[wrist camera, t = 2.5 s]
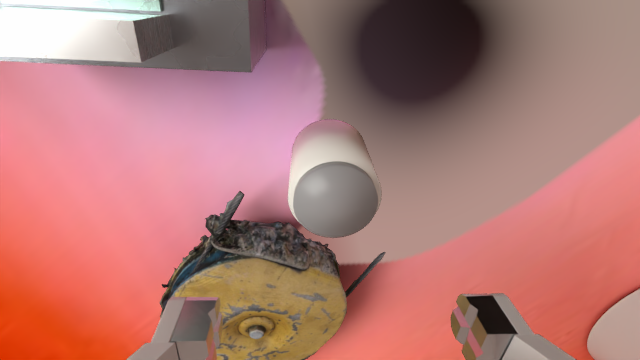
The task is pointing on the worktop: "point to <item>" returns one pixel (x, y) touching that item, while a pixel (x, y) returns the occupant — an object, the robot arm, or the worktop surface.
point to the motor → (135, 33)
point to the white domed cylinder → (332, 180)
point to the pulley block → (265, 287)
